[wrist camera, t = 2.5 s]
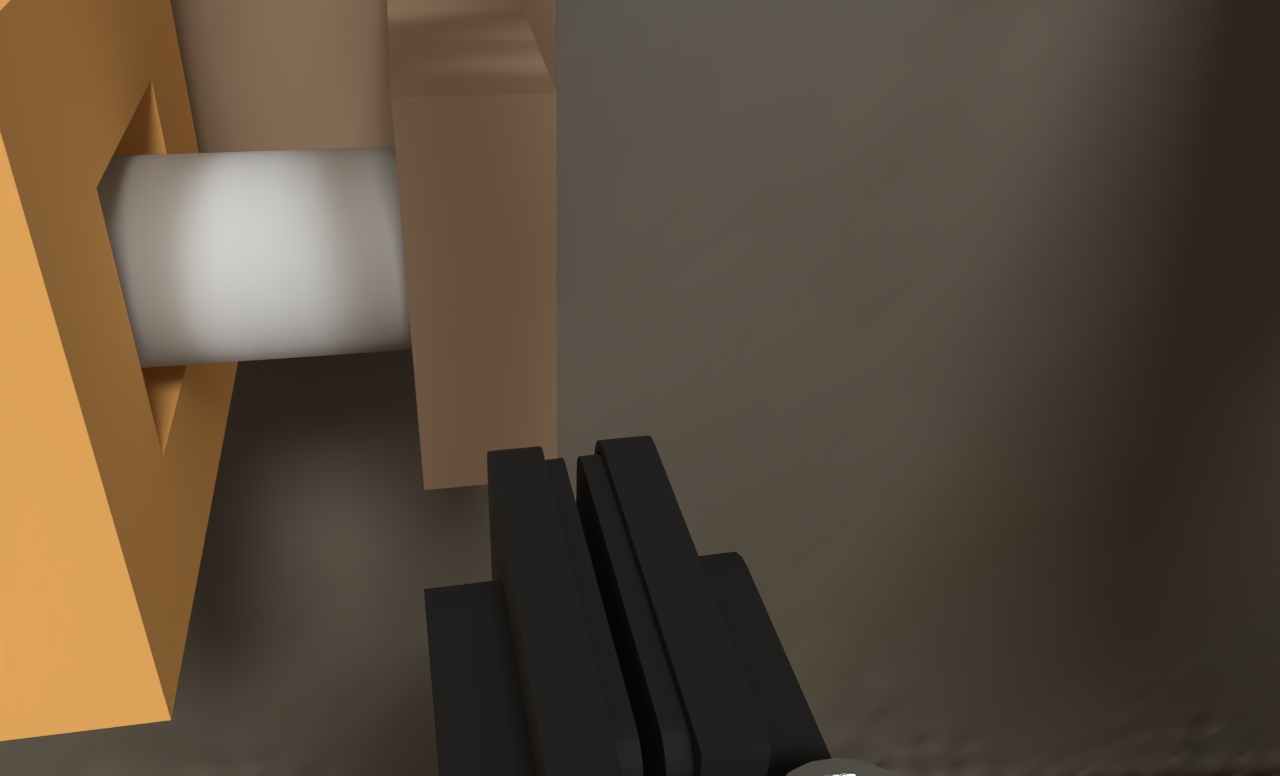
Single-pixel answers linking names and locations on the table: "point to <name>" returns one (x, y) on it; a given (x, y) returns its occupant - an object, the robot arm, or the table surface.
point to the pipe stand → (361, 206)
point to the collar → (91, 382)
